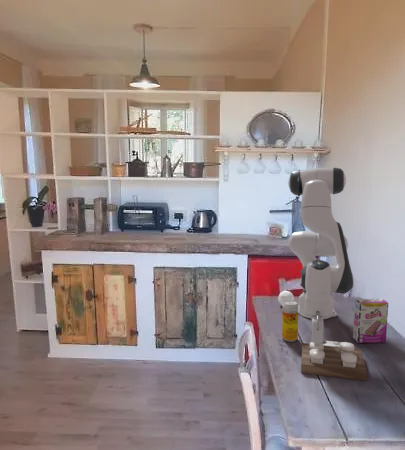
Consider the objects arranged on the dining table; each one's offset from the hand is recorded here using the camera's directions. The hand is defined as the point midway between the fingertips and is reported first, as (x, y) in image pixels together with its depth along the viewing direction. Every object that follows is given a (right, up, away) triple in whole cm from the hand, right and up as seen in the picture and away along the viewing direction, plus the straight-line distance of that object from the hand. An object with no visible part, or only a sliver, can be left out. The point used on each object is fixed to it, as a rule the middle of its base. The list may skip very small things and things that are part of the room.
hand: (316, 344), depth 132 cm
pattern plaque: (+8, -4, +9) cm, 12 cm away
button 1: (0, -4, +1) cm, 4 cm away
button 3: (-2, -4, -7) cm, 8 cm away
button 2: (+10, -3, -2) cm, 10 cm away
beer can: (-6, -3, +16) cm, 17 cm away
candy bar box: (+25, -3, +13) cm, 28 cm away
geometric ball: (+1, +2, +53) cm, 53 cm away
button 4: (+7, -4, -10) cm, 13 cm away
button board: (+4, -5, -5) cm, 8 cm away
